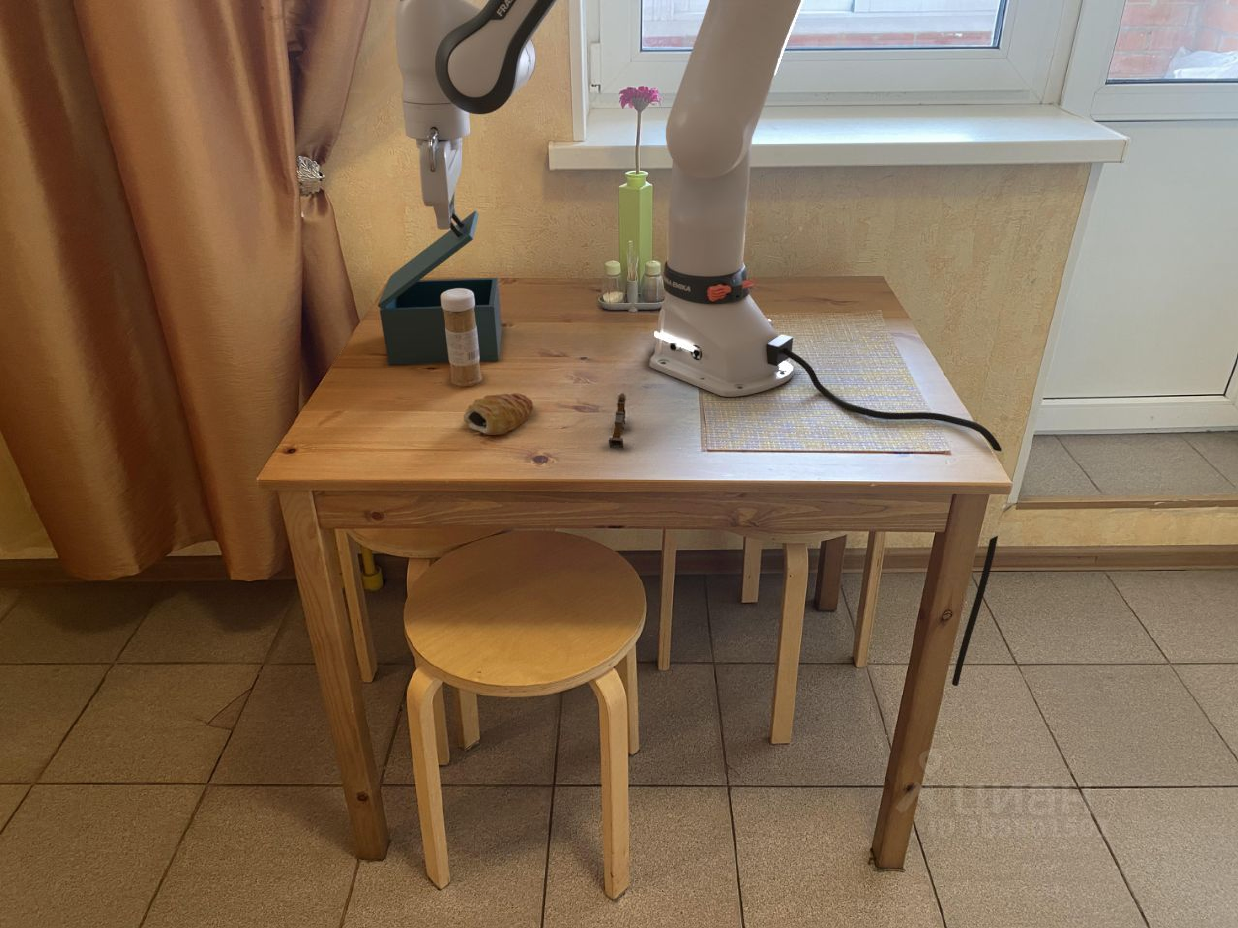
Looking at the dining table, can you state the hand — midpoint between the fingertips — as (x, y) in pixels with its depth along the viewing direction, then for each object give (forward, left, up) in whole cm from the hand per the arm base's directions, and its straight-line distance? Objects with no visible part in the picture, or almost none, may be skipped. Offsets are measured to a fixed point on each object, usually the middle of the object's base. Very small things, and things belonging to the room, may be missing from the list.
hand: (446, 221), depth 129 cm
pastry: (-26, +7, -20) cm, 33 cm away
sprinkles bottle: (-12, +5, -20) cm, 24 cm away
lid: (+1, +3, -6) cm, 7 cm away
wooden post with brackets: (-38, -4, -20) cm, 43 cm away
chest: (+1, +2, -20) cm, 20 cm away
